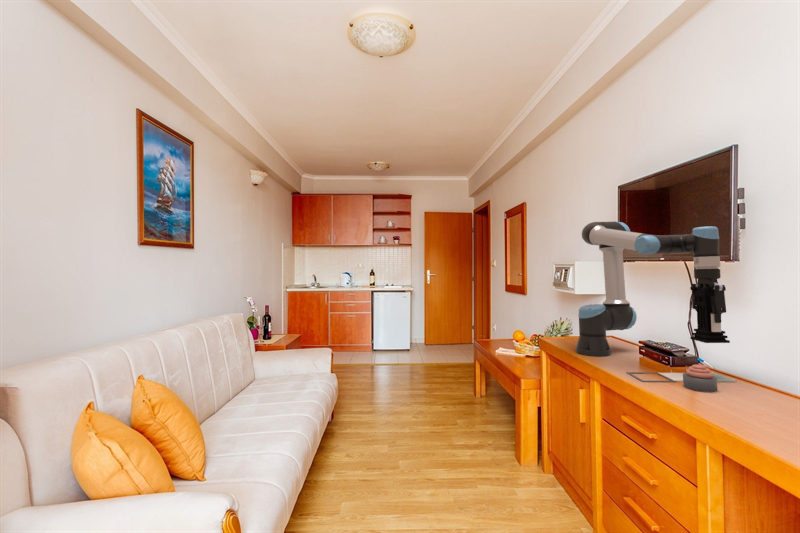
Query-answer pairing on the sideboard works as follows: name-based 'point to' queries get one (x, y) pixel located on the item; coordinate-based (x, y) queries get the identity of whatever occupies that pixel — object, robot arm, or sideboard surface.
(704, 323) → the chess piece
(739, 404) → the sideboard surface
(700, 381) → the base
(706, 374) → the pink swirled mound
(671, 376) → the board
